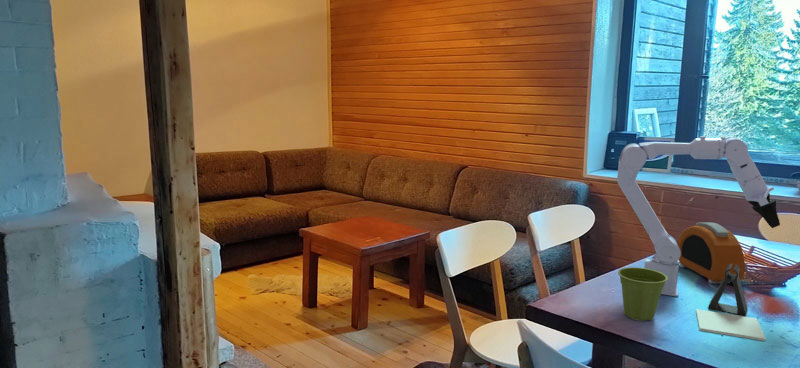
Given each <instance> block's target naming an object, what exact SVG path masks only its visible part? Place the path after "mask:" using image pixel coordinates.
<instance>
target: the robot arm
mask: <svg viewBox="0 0 800 368" xmlns="http://www.w3.org/2000/svg"><path fill="white" fill-rule="evenodd" d="M748 151H749V147H748V145H747V144H746V143H745V142H744V141H743V140H741V139H738V138H736V137H731V136H727V137H726V136H720V138H716V137H715V138H714V137H713V138H709V137H706V136H705V135H700V136H699V137H697V138H694V139H693V140H692V141H691V142H669V141H668V142H667V141H665V142H664V141H649V142H647V141H646V142H639V143H629V144H627V145H626V146H624V147H623V149H622V150H621V153H620V156H618V168H617V174H616V175H617V177H616V181H617V184H618V187H619V188H620V189H621V191H622V192H623V194H624V196H625V198H626V199H627V201H628V203H629V204H630V206H631V208H632V209H633V211H634V213H635V215H636V216H637V217H638V218H637V219H639V221H640V223H641V224H642V226H643V227H644V230H645V232H646V233H647V234H648V236H649V238H650V241H651V242H652V244H653V248H654V250H655V254H654V255H653V256H652V257H651V258H645V259H644V263H643V264H644V265H643V266H644V267H643V268H646V269H651V270H655V271H658V272H661V273H663V274H665V275H666V276H667V277H668V280H667V281H666V282H665V284H664V287H663V289H662V291H661V294H660V295H664V296H671V297H679V290H678V289H679V288H678V279H679V278H678V277H679V269H680V263H679V260H678V259H679V258H680V255H681V252H680V249H679V247H678V245H677V240H676V239H675V238H674V237H673V236H672V235H670V234H669V233H668V232H667V230H666V229H665V227H664V225H663V224H662V223H661V220H660V219H659V218H658V215H657V214H656V212H655V211H654V209H653V207H652V206H651V203H650V202H649V201H648V199H647V198H646V196H645V194H644V193H643V190H642V189H641V188H640V186H639V184H638V183H637V181H636V179H637V177H638V174H639V171H640V170H641V169H642V168H643V167H644V165H645V164H646V162H647V158H648V159H649V161H651V160H653V159H656V157H658V156H665V155H667V156H670V155H671V156H672V155H673V156H674V155H676V156H677V155H678V156H679V155H690V156H691V157H692V158H693V159H695V160H721V159H723V158H725V159H726V162H727V163H728V165H729V168H730V170H731V173H732V174H733V176H734V178H735V179H736V181H737V183H738V185H739V187H740V189H741V191H742V193H743V194H744V196H745V197H744V198H745V200H746V201H747V202H748V203H749V204H751V205H752V206H751V208H752V210H753V211H755V213H757V214H759V215H760V216H761V217H762V218H763V219H764V221H765V222H766V223H767V225H768V226H769V227H770V228H772V229H774V228H777V227H778V226H780V225H781V223H780V218H779V215H778V212H777V200H776V199H772V200H770V199H771V198H770V197H771V196H770V195H771V194H770V193H771V192H772V191H774V190H775V189H774V187H773V185H771V186H768V185H767V183H766V182H765V180H764V178H763V176H762V175H761V173H760V171H759V169H758V167H757V165H756V163H755V162H754V160H753V159H752V158H751V155H750V154H749V152H748Z"/></svg>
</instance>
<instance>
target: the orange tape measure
mask: <svg viewBox="0 0 800 368" xmlns="http://www.w3.org/2000/svg"><path fill="white" fill-rule="evenodd" d="M676 242H677V245H678V247H679V249H680V252H681V255H680V258H679V259H678V260H679V268H688V269H690V270H692V271H694V272H695V273H697V274H699V275H701V276H703V277H705V278H706V279H707V280H708V283H709V284H721V283H722V281H723V279H724V278H725V272H726V269H727V267H728V265H730V264H732V267H731V270H729V272H730V274H731V273H732V274H736V272H735V271H734V268H735V265H738V266H739V268H740V271H739V279H740V281H742V280H743V279H744V275H745V267H746V262H745V256H744V251H743V248H742V245H741V243H740V242H739V240H738V239H737V237H736V236H735V234H733V232H731V231H730V230H728V229H726V228H725V227H723V226H722V225H720V224H719V223H715V222H711V221H710V222H706V221H705V222H704V221H702V222H696V223H695V225H691V226H689V227H686V228H685V229H684V230H682V231H681V233H680V234H679V235H678V238H677V240H676ZM727 284H731V283H730V282H728V283H727Z"/></svg>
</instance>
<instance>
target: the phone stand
mask: <svg viewBox="0 0 800 368" xmlns="http://www.w3.org/2000/svg"><path fill="white" fill-rule="evenodd" d="M731 267H732V264H730V265H728V267H727V269H726V272H725V278H724V279H723V281H722V283H719V286H718V288H717V289H716V291H715V293H714V294H713V296H712V298H711V300H710V301H709V304H708V306H707V309H708V310H709V311H713V312H718V313H724V314H731V315H737V316H744V317H747V312H748V309H749V308H748V304H747V302H746V297H745V295H744V290H743V287H742V283H741V280H740V279H739V271H740V268H739V266H738V265H735V268H734V271H735V272H736V274H732V273H731V274H730V272H729V270H731ZM728 282H732V283H731V284H732V285H733V291H734V296H735V302H736V305H732V304H731V305H730V304H725V303H721V302H720V300H721V297H722V295H723V294H724V291H725V289H726V286H727V285H728V284H729V283H728Z"/></svg>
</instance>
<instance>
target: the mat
mask: <svg viewBox="0 0 800 368" xmlns="http://www.w3.org/2000/svg"><path fill="white" fill-rule="evenodd" d="M695 313H696V319H697V323H698V330H699V331H701V332H707V333H714V334H719V335H727V336H733V337H737V338H738V337H739V338H744V339H750V340H758V341H763V342H766V336H765V333H764V332H763V330H762V328H761V325H760V323H759V321H758V319H757V318H755V317H749V316H745V317H744V316H739V315H734V314H729V313H724V312H719V311H712V310H703V309H699V308H696V309H695Z"/></svg>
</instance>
